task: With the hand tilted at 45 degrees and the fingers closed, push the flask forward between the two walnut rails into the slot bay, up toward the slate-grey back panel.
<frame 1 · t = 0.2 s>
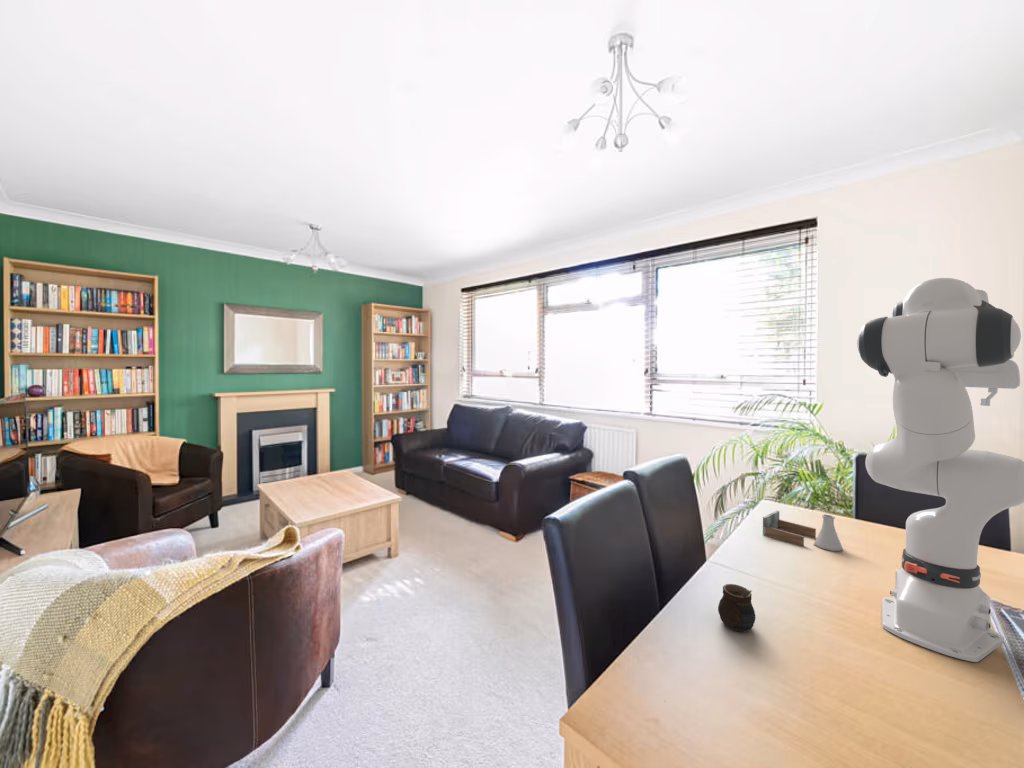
hand: (958, 404, 109), 47 cm above the table, tool pointing down, fingers open, 8 cm apart
slot bay: (788, 535, 139), on the table
mate gourd: (737, 627, 89), on the table
flask: (827, 547, 130), on the table
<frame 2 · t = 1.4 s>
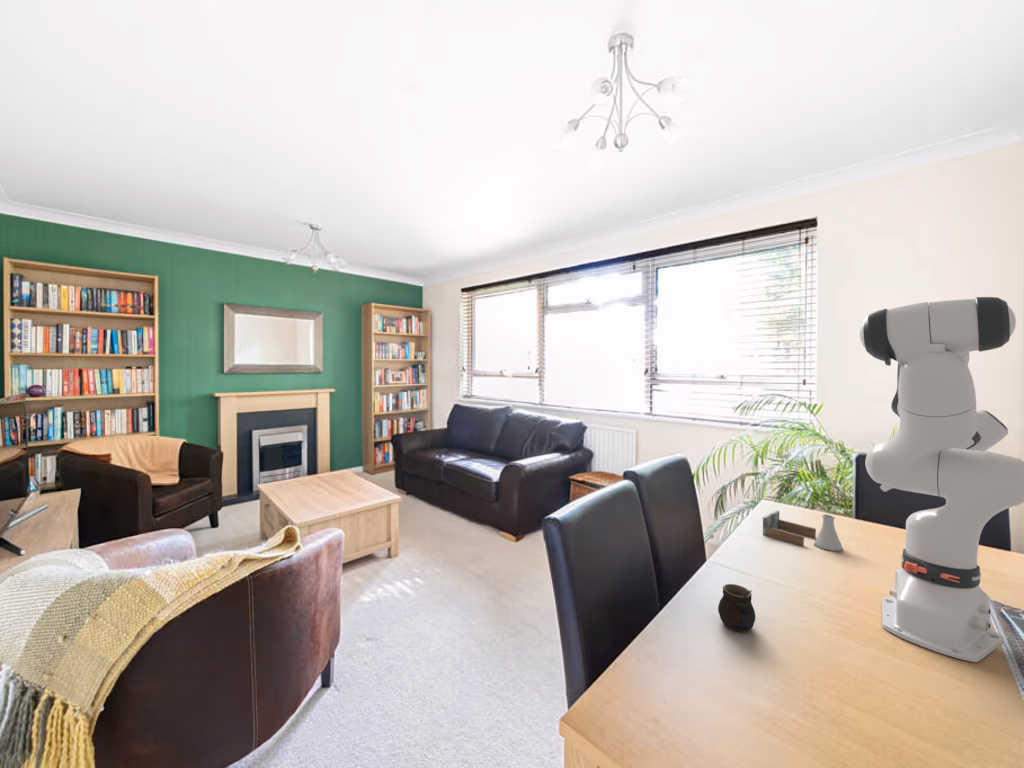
hand: (884, 485, 120), 23 cm above the table, tool tilted 45°, fingers open, 8 cm apart
nothing on the table moved.
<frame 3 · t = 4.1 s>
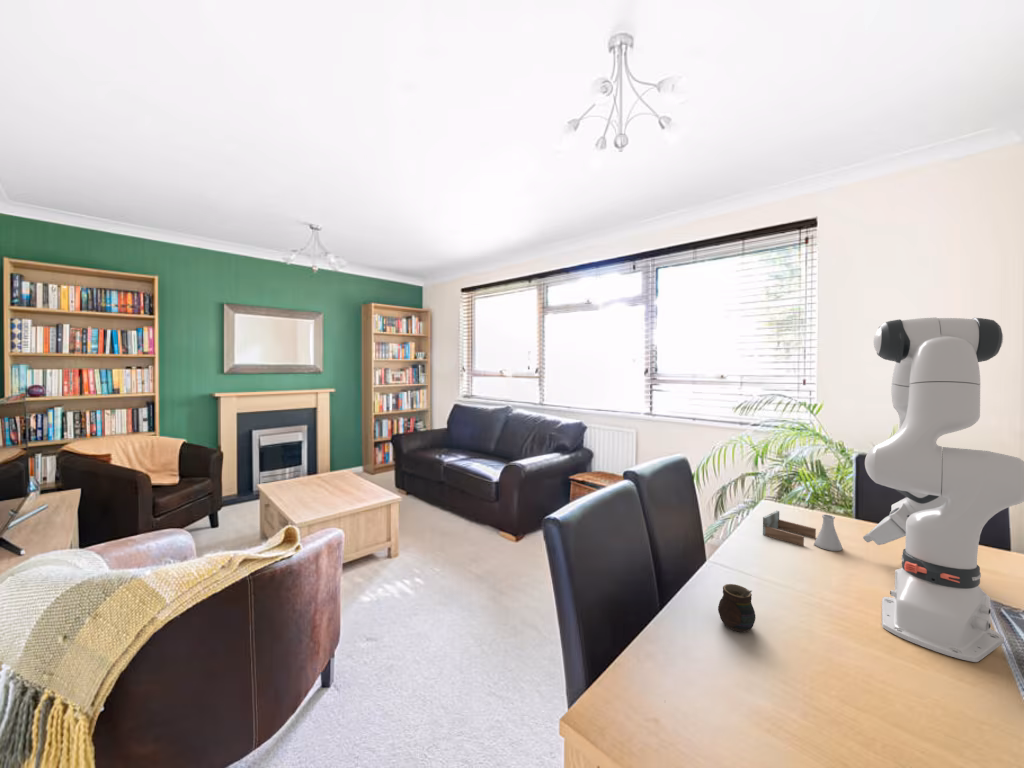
hand: (866, 538, 123), 5 cm above the table, tool tilted 45°, fingers closed
nothing on the table moved.
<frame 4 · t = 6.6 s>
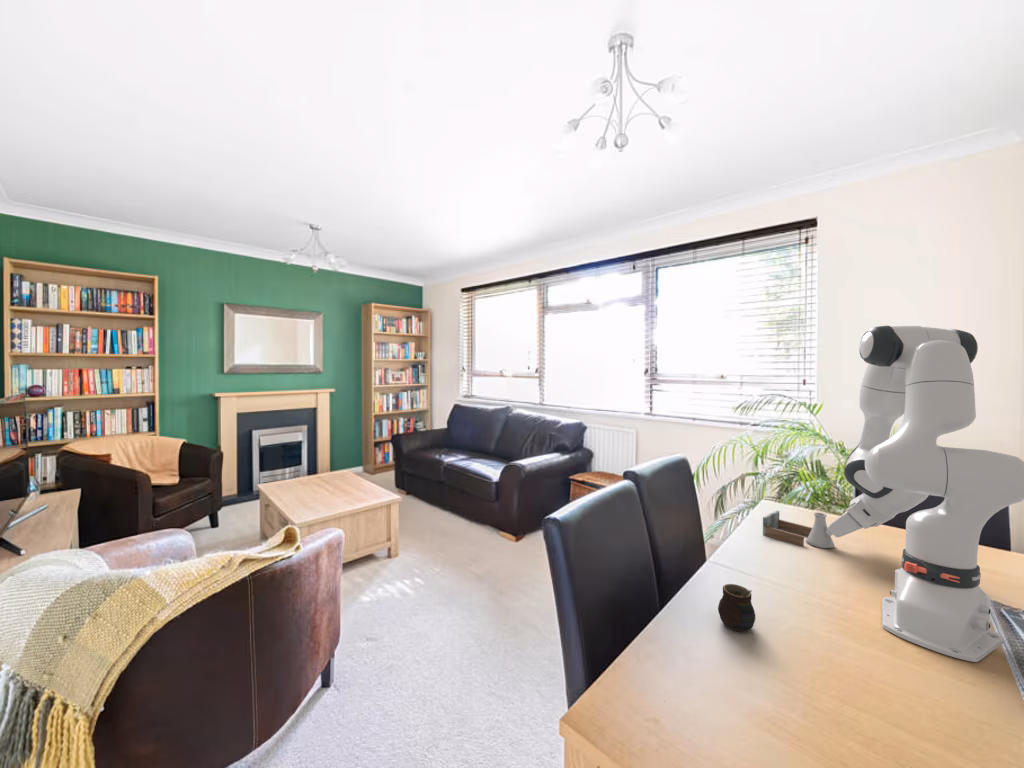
hand: (828, 532, 131), 4 cm above the table, tool tilted 45°, fingers closed, pressing on flask
flask: (819, 545, 132), on the table, touching gripper
everything else where it was.
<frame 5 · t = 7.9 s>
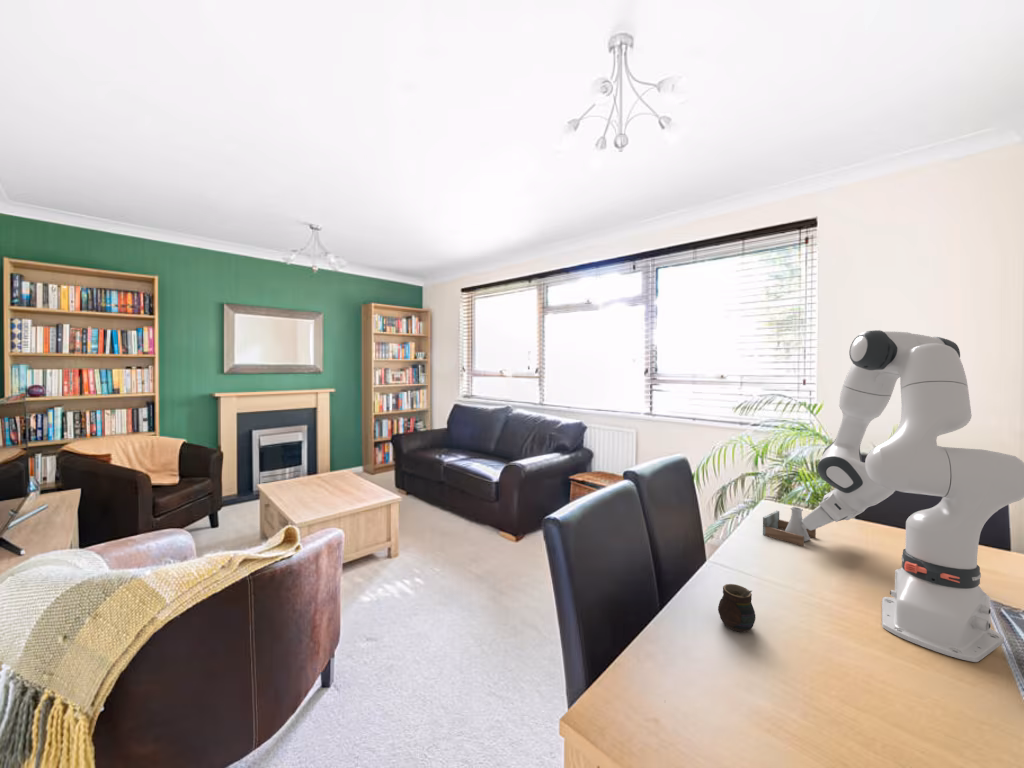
hand: (804, 526, 136), 4 cm above the table, tool tilted 45°, fingers closed, pressing on flask
flask: (796, 538, 138), on the table, touching gripper
everything else where it was.
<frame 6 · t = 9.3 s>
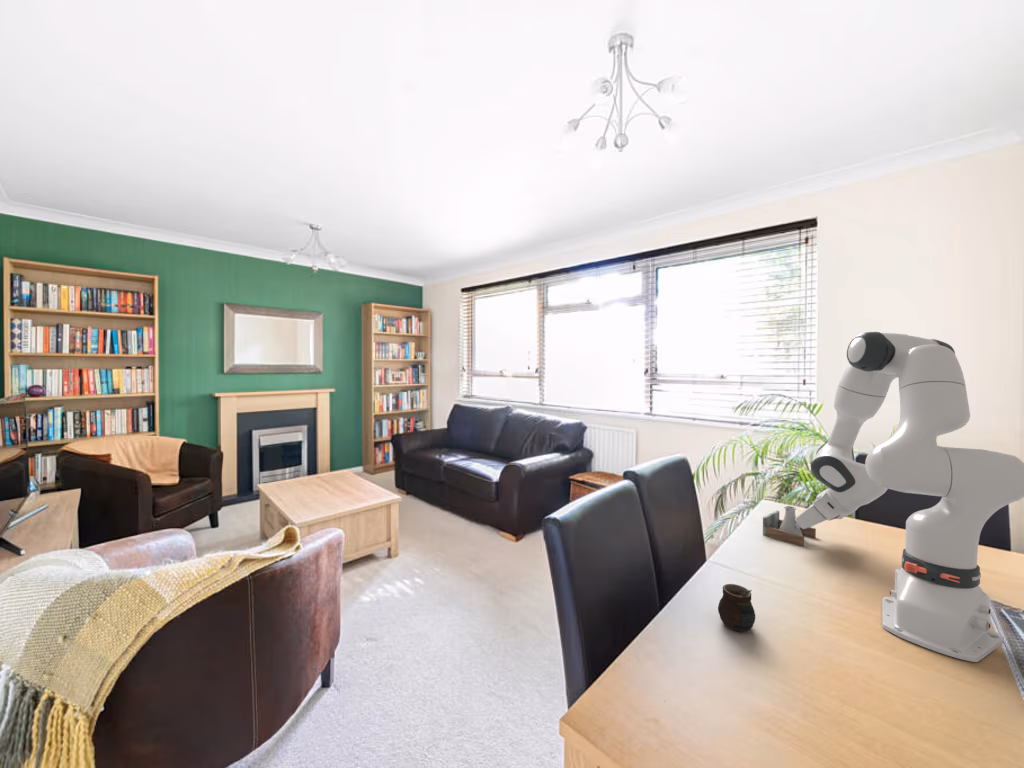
hand: (797, 525, 137), 4 cm above the table, tool tilted 45°, fingers closed
flask: (789, 536, 139), on the table
everything else where it was.
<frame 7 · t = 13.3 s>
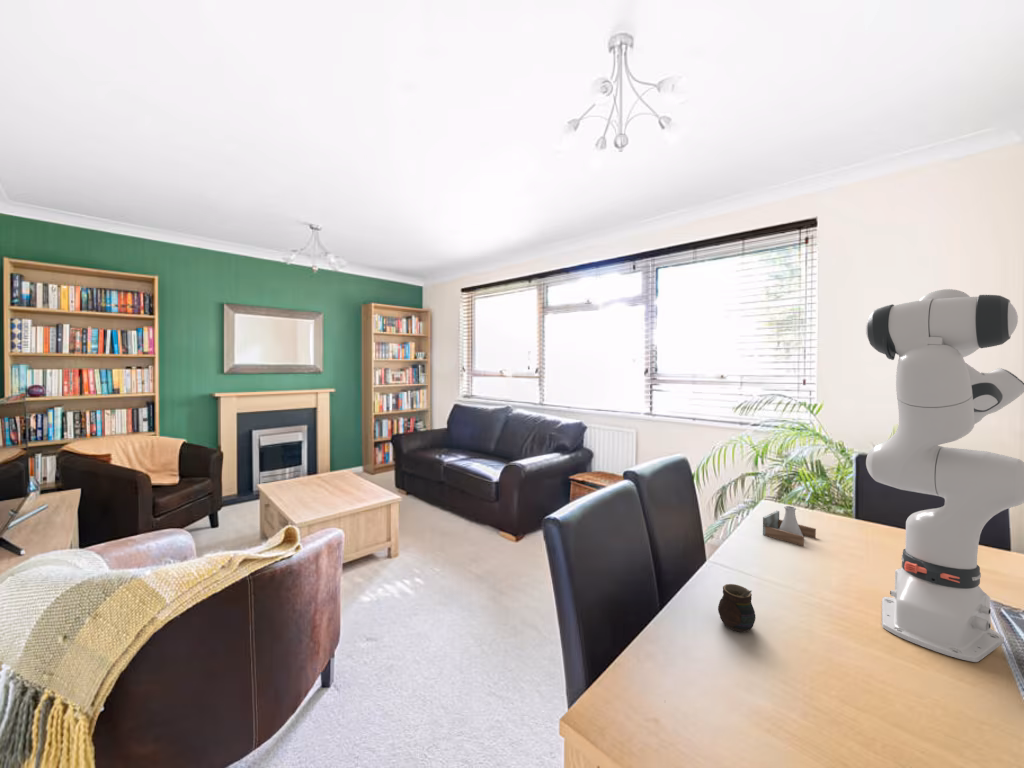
hand: (902, 446, 123), 33 cm above the table, tool tilted 45°, fingers closed
nothing on the table moved.
at the end: flask inside the target area on the slot bay (1.1 cm from its centre), point 0.0 cm above the slot bay's base; flask tilted 0°; flask moved 10.7 cm from its start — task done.
